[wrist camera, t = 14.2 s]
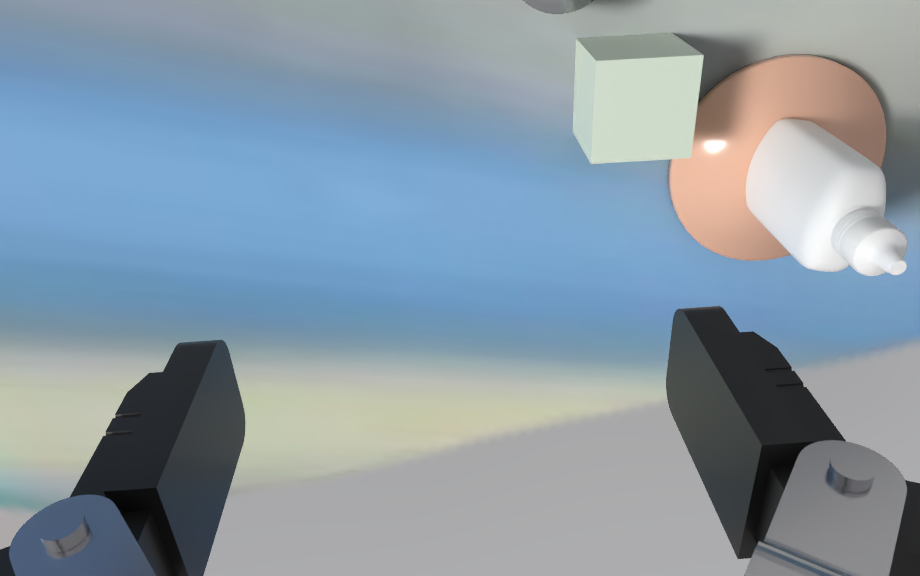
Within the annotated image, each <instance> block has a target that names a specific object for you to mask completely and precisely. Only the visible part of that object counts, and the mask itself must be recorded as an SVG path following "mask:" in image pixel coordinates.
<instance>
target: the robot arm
mask: <svg viewBox="0 0 920 576" xmlns="http://www.w3.org/2000/svg"><path fill="white" fill-rule="evenodd" d="M666 390H667V398H668V404H669V407H670V411H671V413H672V416H673V418H674V420H675V422H676V424H677V427H678V429H679V431H680V433H681V435H682V438H683V440H684V442H685V444H686V446H687V448H688V451H689V453H690V455H691V457H692V459H693V462H694V464H695V466H696V468H697V470H698V472H699V475H700V477H701V479H702V481H703V484H704V485H705V488H706V490H707V492H708V494H709V497H710V499H711V501H712V503H713V505H714V507H715V510H716V512H717V514H718V516H719V518H720V521H721V523H722V525H723V527H724V530H725V532H726V534H727V536H728V538H729V540H730V542H731V545H732V547H733V549H734V551H735V554H736V556H737V558H738V559H743V558H751V560H750V563H749V565H748V567H747V570H746V572H745V575H744V576H920V483H915V482H910V481H907V480H905V479H904V477H903V475H902V474H901V473H900V471H899V470H898V469H897V468H896V466H894V464H893V463H891V462H890V461H889V460H888V459H886V458H885V457H883V456H882V455H880V454H879V453H877V452H875V451H873V450H871V449H869V448H866V447H864V446H861V445H858V444H854V443H851V442H846V441H845V439H844V438H843V437H842V435H841V434H840V432H839V431H838V430H837V428H836V427H835V426H834V424H833V423H832V422H831V420H830V419H829V418H828V416H827V415H826V413H825V412H824V411H823V409H822V408H821V407H820V405H819V404H818V403H817V401H816V400H815V398H814V397H813V396H812V394H811V393H810V392H809V390H808V389H807V388H806V387H804V386H803V382H802V381H801V379H800V378H799V377H798V375H797V374H796V373H795V371H792V369H791V366H790V364H789V363H788V362H787V360H786V359H785V358H784V356H783V355H782V354H781V352H780V351H779V349H778V348H777V347H775V346H774V345H772V344H771V343H769V342H768V341H766V340H765V339H763V338H762V337H760V336H759V335H757V334H756V333H754V332H739V331H738V329H737V328H736V326H735V325H734V323H733V322H732V320H731V319H730V317H729V316H728V315H727V313H726V312H725V310H724V309H723V308H722V307H720V306H714V307H699V308H685V309H678V310H676V312H675V314H674V318H673V325H672V333H671V342H670V351H669V360H668V368H667V377H666ZM115 415H116V418H113V419H112V421H111V423H110V425H109V427H108V429H107V430H106V436H103V438H102V439H101V441H100V443H99V445H98V447H97V449H96V450H95V452H94V454H93V456H92V458H91V460H90V461H89V463H88V465H87V467H86V469H85V470H84V472H83V474H82V476H81V478H80V480H79V481H78V483H77V485H76V487H75V489H74V491H73V492H72V494H71V496H70V498H67V499H63V500H61V501H58V502H56V503H54V504H51V505H50V506H48V507H46V508H44V509H42V510H41V511H39V512H38V513H37V514H35V515H34V516H33V517H31V518H30V519H29V520H28V521H27V522H26V523H25V524H24V525H23V526H22V527H21V528H20V529H19V531H18V532H17V533H16V535H15V537H14V538H13V540H12V543H11V546H9V547H6V548H4V549H1V550H0V576H203V574H204V571H205V568H206V565H207V562H208V558H209V555H210V552H211V548H212V545H213V542H214V538H215V535H216V532H217V528H218V525H219V522H220V518H221V515H222V512H223V509H224V505H225V502H226V499H227V495H228V492H229V489H230V485H231V482H232V479H233V475H234V472H235V469H236V465H237V462H238V459H239V455H240V452H241V449H242V446H243V442H244V436H245V413H244V408H243V403H242V400H241V396H240V392H239V388H238V384H237V380H236V377H235V373H234V369H233V365H232V361H231V357H230V354H229V350H228V347H227V345H226V343H225V342H224V341H223V340H213V341H199V342H184V343H179V344H178V345H177V346H176V347H175V349H174V351H173V353H172V355H171V357H170V359H169V361H168V363H167V365H166V367H165V369H164V371H163V372H157V373H149V374H148V375H147V376H145V377H144V378H143V379H142V380H141V381H140V382H139V383H138V384H136V385H135V386H134V387H133V388H132V389H131V390H130V391H128V392H127V394H126V396H125V397H124V399H123V401H122V403H121V405H120V407H119V408H118V410H117V412H116V414H115Z"/></svg>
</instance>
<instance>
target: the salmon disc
mask: <svg viewBox="0 0 920 576" xmlns="http://www.w3.org/2000/svg"><path fill="white" fill-rule="evenodd" d="M786 118H787V119H798V120H806V121H811V122H813V123H815V124H817V125H818V126H820V127H821V128H823V129H824V130H826V131H827V132H829V133H830V134H832V135H833V136H835V137H836V138H838V139H839V140H841V141H842V142H844V143H845V144H847V145H848V146H850V147H851V148H853V149H854V150H856V151H857V152H859V153H860V154H862V155H863V156H865V157H866V158H867V159H869V160H870V161H872V162H873V163H874V164H876V165H877V166H878V167H879V168H880V169H881V166H882V163H883V159H884V154H885V149H886V136H887V132H886V121H885V117H884V113H883V109H882V106H881V104H880V102H879V100H878V97H877V96H876V94H875V93H874V91H873V90H872V88H871V87H870V86H869V85H868V83H867V82H866V81H865V80H864V79H863V78H862V77H860V76H859V75H858V74H856V73H855V72H854V71H852V70H851V69H849V68H847V67H845V66H843V65H840V64H838V63H836V62H834V61H832V60H829V59H826V58H823V57H819V56H813V55H806V54H790V55H782V56H775V57H771V58H768V59H764V60H760V61H758V62H755V63H753V64H750V65H748V66H746V67H744V68H742V69H740V70H738V71H736V72H734V73H732V74H731V75H729V76H728V77H727V78H725V79H724V80H722V81H721V82H719V83H718V84H717V85H716V86H715V87H713V88H712V89H711V90H710V91H709V92H708V93H707V94H706V95H705V96H704V97H703V98H702V99H701V100H700V101H699V102H698V106H697V114H696V122H695V130H694V138H693V146H692V154H691V158H682V159H670V160H669V166H668V188H669V195H670V199H671V203H672V206H673V208H674V210H675V212H676V215H677V216H678V218H679V220H680V221H681V223H682V224H683V226H684V227H685V228H686V230H687V231H688V232H689V233H690V234H691V235H692V237H693V238H694V239H695V240H697V241H698V242H699V243H700V244H702V245H703V246H704V247H706V248H708V249H709V250H711V251H713V252H715V253H718V254H720V255H723V256H725V257H729V258H734V259H739V260H748V261H750V260H768V259H775V258H779V257H784V256H788V255H791V254H790V253H789V252H788V251H787V250H786V249H785V247H784V246H783V245H782V244H781V243H780V242H779V241H778V240H777V239H776V238H775V237H774V236H773V235H772V234H771V233H770V232H769V231H768V230H767V229H766V228H765V227H764V225H763V224H762V223H761V222H760V221H759V220H758V219H757V218H756V217H755V216H754V215H753V214H752V213H751V212H750V210H749V208H748V207H747V203H746V194H745V189H746V178H747V173H748V169H749V165H750V162H751V160H752V157H753V155H754V153H755V151H756V149H757V147H758V145H759V143H760V142H761V140H762V139H763V137H764V136H765V134H766V133H767V132H768V130H769V129H770V128H771V127H772V125H773V124H774V123H776V122H777V121H779V120H781V119H786Z"/></svg>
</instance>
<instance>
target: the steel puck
mask: <svg viewBox="0 0 920 576" xmlns="http://www.w3.org/2000/svg"><path fill="white" fill-rule="evenodd" d="M523 1H524V2H526V3H527V4H528V5H530V6H531V7H533V8H535V9H537V10H539V11H542V12H545V13H551V14H563V13H569V12H573V11H576V10H578V9H581V8H583V7H584V6H586V5H588V4H589V3H591V2H592V1H593V0H523Z"/></svg>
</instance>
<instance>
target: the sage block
mask: <svg viewBox="0 0 920 576" xmlns="http://www.w3.org/2000/svg"><path fill="white" fill-rule="evenodd" d="M703 58H704V55H703V54H702V53H700V52H699V51H697V50H696V49H694V48H693V47H692V46H690V45H689V44H687V43H686V42H684V41H683V40H681V39H680V38H679V37H677V36H676V35H674V34H673V33H663V34H645V35H627V36H609V37H591V38H576V60H575V87H574V115H573V133H574V135H575V137H576V138H577V140H578V142H579V144H580V145H581V147H582V149H583V151H584V153H585V154H586V156H587V158H588V160H589V161H590V163H591V164H597V163H614V162H631V161H648V160H665V159H682V158H691V154H692V146H693V138H694V130H695V122H696V114H697V106H698V98H699V90H700V82H701V74H702V66H703Z"/></svg>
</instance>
